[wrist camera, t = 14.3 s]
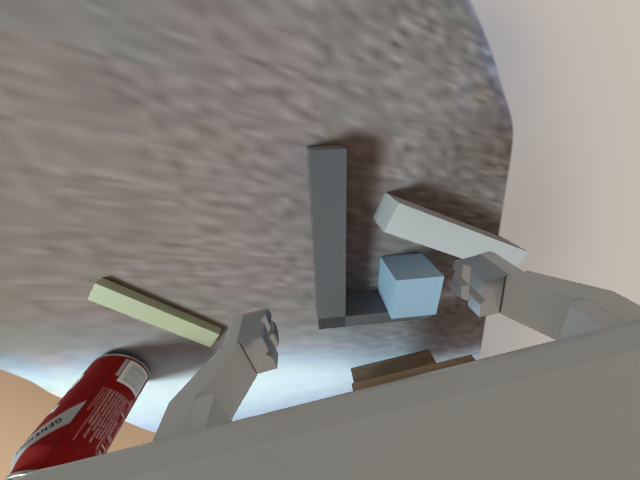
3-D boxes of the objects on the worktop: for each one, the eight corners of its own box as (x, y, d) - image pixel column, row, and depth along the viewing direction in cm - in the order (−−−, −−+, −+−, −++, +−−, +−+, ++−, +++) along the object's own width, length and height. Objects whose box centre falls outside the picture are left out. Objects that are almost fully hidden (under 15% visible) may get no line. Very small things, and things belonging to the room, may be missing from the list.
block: (380, 256, 29) (396, 280, 24) (421, 252, 29) (444, 276, 24) (377, 290, 31) (391, 318, 26) (415, 286, 31) (436, 314, 27)
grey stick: (371, 217, 27) (383, 231, 23) (384, 191, 25) (399, 202, 22) (484, 256, 30) (509, 274, 27) (499, 236, 29) (528, 252, 26)
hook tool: (306, 146, 23) (309, 150, 19) (440, 139, 24) (466, 142, 20) (316, 305, 31) (319, 329, 27) (414, 295, 32) (430, 317, 28)
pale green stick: (222, 325, 31) (219, 334, 30) (213, 337, 32) (209, 347, 31) (105, 275, 27) (95, 283, 25) (97, 290, 27) (87, 299, 26)
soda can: (141, 346, 31) (59, 465, 20) (159, 380, 34) (96, 500, 23) (85, 352, 30) (-30, 477, 20) (108, 386, 33) (20, 511, 23)
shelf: (337, 317, 32) (354, 395, 23) (426, 295, 32) (479, 365, 23) (351, 372, 37) (370, 454, 28) (428, 354, 37) (473, 430, 28)
